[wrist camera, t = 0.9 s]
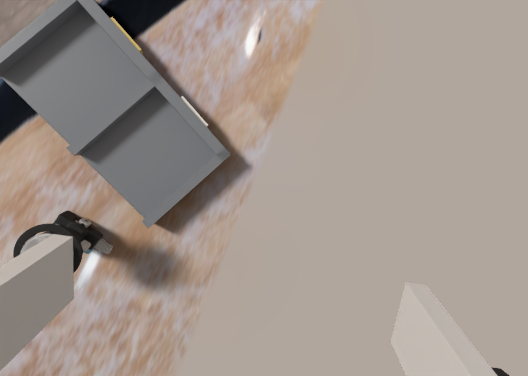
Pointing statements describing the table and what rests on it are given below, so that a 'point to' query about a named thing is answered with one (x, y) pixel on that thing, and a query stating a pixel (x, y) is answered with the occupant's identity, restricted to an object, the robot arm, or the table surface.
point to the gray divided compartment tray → (111, 105)
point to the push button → (67, 226)
